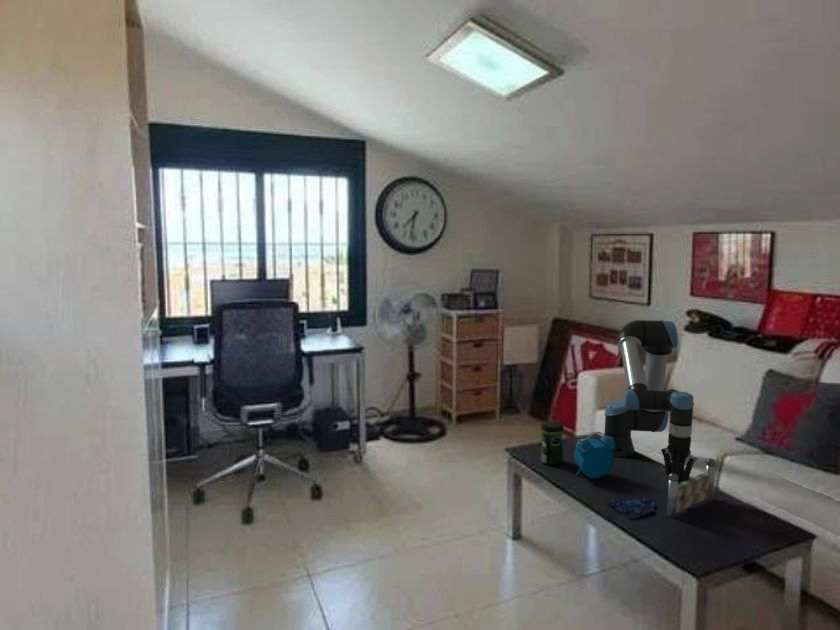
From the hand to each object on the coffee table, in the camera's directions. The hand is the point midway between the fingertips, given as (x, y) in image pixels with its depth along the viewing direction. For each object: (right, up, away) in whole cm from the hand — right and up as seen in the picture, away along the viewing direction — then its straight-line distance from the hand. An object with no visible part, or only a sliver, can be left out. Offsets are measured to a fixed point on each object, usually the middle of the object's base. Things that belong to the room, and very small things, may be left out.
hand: (676, 496), depth 213 cm
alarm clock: (-23, 0, +27) cm, 35 cm away
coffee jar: (-36, +1, +43) cm, 56 cm away
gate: (+5, -2, -2) cm, 6 cm away
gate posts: (+5, -4, -1) cm, 6 cm away
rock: (-16, -5, -1) cm, 17 cm away
